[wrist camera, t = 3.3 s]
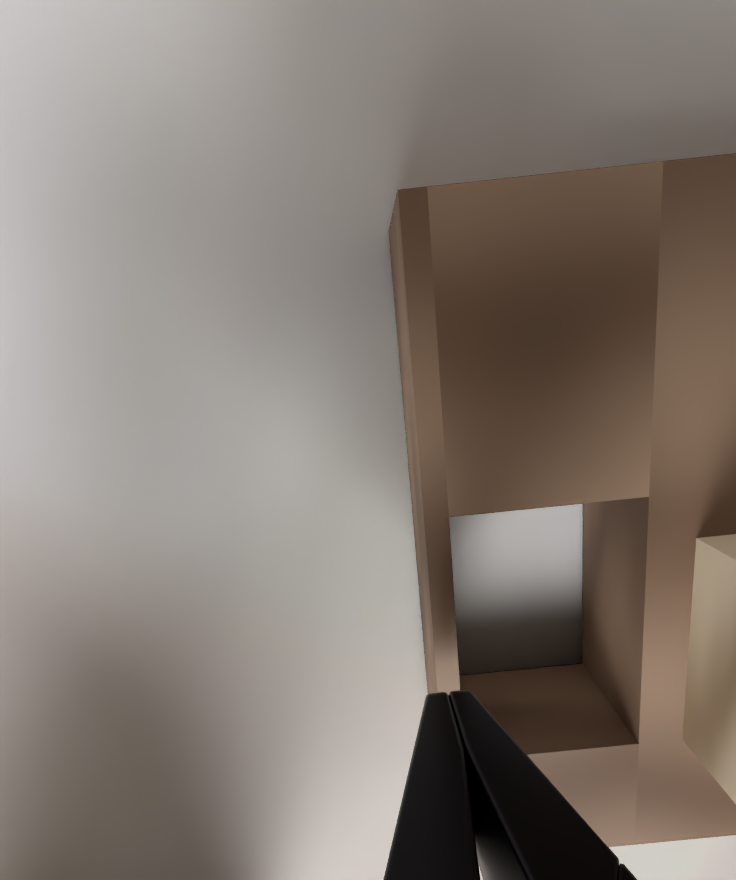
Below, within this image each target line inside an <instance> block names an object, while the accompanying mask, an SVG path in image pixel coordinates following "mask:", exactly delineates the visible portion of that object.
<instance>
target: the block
mask: <svg viewBox="0 0 736 880" xmlns="http://www.w3.org/2000/svg"><path fill="white" fill-rule="evenodd" d="M682 740H683V741H684V742H685V743H686V745H687V746H688V747H689V748H690V749H691V751H692V752H693V753H694V754H695V756H696V757H697V758H698V759H699V760H700V762H701V763H702V764H703V765H704V766H705V768H706V769H707V770H708V771H709V772H710V774H711V775H712V776H713V777H714V779H715V780H716V781H717V782H718V783H719V785H720V786H721V787H722V788H723V789H724V791H725V792H726V793H727V794H728V796H729V797H730V798H731V799H732V800H733V802H734V803H735V804H736V534H732V535H722V536H712V537H702V538H696V549H695V563H694V578H693V592H692V607H691V622H690V636H689V651H688V665H687V680H686V694H685V709H684V724H683V738H682Z"/></svg>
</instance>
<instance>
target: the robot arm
mask: <svg viewBox="0 0 736 880" xmlns="http://www.w3.org/2000/svg"><path fill="white" fill-rule="evenodd" d="M478 863H479V865H478ZM479 866H480V870H481V873H482V877H483V880H637V879H636V878H635V877H634V875H633V874H632V873H631V872H630V871H629V870H628V869H627V867H626V866H625V865H624V864H620V865H619V860H618V858H617V856H616V855H615V854H614V853H613V852H612V851H611V850H610V849H609V847H608V846H607V845H606V844H605V843H604V842H603V841H602V839H601V838H600V837H599V836H598V835H597V834H596V833H595V832H594V830H593V829H592V828H591V827H590V826H589V825H588V824H587V822H586V821H585V820H584V819H583V818H582V817H581V816H580V815H579V813H578V812H577V811H576V810H575V809H574V808H573V807H572V805H571V804H570V803H569V802H568V801H567V800H566V799H565V798H564V796H563V795H562V794H561V793H560V792H559V791H558V790H557V788H556V787H555V786H554V785H553V784H552V783H551V782H550V781H549V779H548V778H547V777H546V776H545V775H544V774H543V773H542V771H541V770H540V769H539V768H538V767H537V766H536V765H535V764H534V762H533V761H532V760H531V759H530V758H529V757H528V756H527V754H526V753H525V752H524V751H523V750H522V749H521V748H520V747H519V745H518V744H517V743H516V742H515V741H514V740H513V739H512V737H511V736H510V735H509V734H508V733H507V732H506V731H505V730H504V728H503V727H502V726H501V725H500V724H499V723H498V722H497V720H496V719H495V718H494V717H493V716H492V715H491V714H490V713H489V711H488V710H487V709H486V708H485V707H484V706H483V705H482V703H481V702H480V701H479V700H478V699H477V698H476V697H475V696H474V694H473V693H472V692H471V691H469V690H457V691H451V692H450V693H449V695H448V694H447V693H446V692H437V693H429V694H427V696H426V699H425V703H424V707H423V712H422V716H421V720H420V725H419V729H418V733H417V738H416V742H415V746H414V751H413V755H412V759H411V764H410V768H409V772H408V776H407V781H406V785H405V789H404V794H403V798H402V802H401V807H400V811H399V815H398V820H397V824H396V828H395V833H394V837H393V841H392V846H391V850H390V854H389V858H388V863H387V867H386V871H385V876H384V880H480V874H479Z"/></svg>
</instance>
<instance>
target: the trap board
mask: <svg viewBox="0 0 736 880" xmlns="http://www.w3.org/2000/svg"><path fill="white" fill-rule="evenodd" d="M389 241H390V253H391V265H392V276H393V288H394V300H395V312H396V323H397V335H398V347H399V359H400V371H401V382H402V394H403V406H404V418H405V429H406V441H407V453H408V465H409V477H410V488H411V500H412V512H413V524H414V535H415V547H416V559H417V571H418V583H419V594H420V606H421V618H422V630H423V642H424V653H425V665H426V677H427V689H428V694H429V693H437V692H446V693H447V694H448V695H449V693H450V692H451V691H457V690H469V691H471V692H472V693H473V694H474V696H475V697H476V698H477V699H478V700H479V701H480V702H481V703H482V705H483V706H484V707H485V708H486V709H487V710H488V711H489V713H490V714H491V715H492V716H493V717H494V718H495V719H496V720H497V722H498V723H499V724H500V725H501V726H502V727H503V728H504V730H505V731H506V732H507V733H508V734H509V735H510V736H511V737H512V739H513V740H514V741H515V742H516V743H517V744H518V745H519V747H520V748H521V749H522V750H523V751H524V752H525V753H526V754H527V756H528V757H529V758H530V759H531V760H532V761H533V762H534V764H535V765H536V766H537V767H538V768H539V769H540V770H541V771H542V773H543V774H544V775H545V776H546V777H547V778H548V779H549V781H550V782H551V783H552V784H553V785H554V786H555V787H556V788H557V790H558V791H559V792H560V793H561V794H562V795H563V796H564V798H565V799H566V800H567V801H568V802H569V803H570V804H571V805H572V807H573V808H574V809H575V810H576V811H577V812H578V813H579V815H580V816H581V817H582V818H583V819H584V820H585V821H586V822H587V824H588V825H589V826H590V827H591V828H592V829H593V830H594V832H595V833H596V834H597V835H598V836H599V837H600V838H601V839H602V841H603V842H604V843H605V844H606V845H607V846H608V847H613V846H624V845H634V844H645V843H655V842H666V841H676V840H687V839H698V838H708V837H719V836H729V835H736V804H735V803H734V802H733V800H732V799H731V798H730V797H729V796H728V794H727V793H726V792H725V791H724V789H723V788H722V787H721V786H720V785H719V783H718V782H717V781H716V780H715V779H714V777H713V776H712V775H711V774H710V772H709V771H708V770H707V769H706V768H705V766H704V765H703V764H702V763H701V762H700V760H699V759H698V758H697V757H696V756H695V754H694V753H693V752H692V751H691V749H690V748H689V747H688V746H687V745H686V743H685V742H684V741H683V740H682V738H683V724H684V709H685V694H686V680H687V665H688V651H689V636H690V622H691V607H692V592H693V578H694V563H695V549H696V538H702V537H712V536H722V535H732V534H736V153H735V154H726V155H716V156H707V157H698V158H688V159H679V160H670V161H661V162H651V163H642V164H633V165H623V166H614V167H605V168H596V169H586V170H577V171H568V172H558V173H549V174H540V175H531V176H521V177H512V178H503V179H494V180H484V181H475V182H466V183H456V184H447V185H438V186H429V187H419V188H410V189H401V190H398V192H397V196H396V201H395V205H394V210H393V214H392V219H391V223H390V228H389ZM573 504H583V629H582V664H574V665H564V666H553V667H543V668H533V669H523V670H513V671H503V672H492V673H482V674H472V675H462V676H459V664H458V649H457V633H456V618H455V603H454V588H453V572H452V557H451V542H450V527H449V517H454V516H464V515H474V514H484V513H494V512H504V511H514V510H523V509H533V508H543V507H553V506H563V505H573Z"/></svg>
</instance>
